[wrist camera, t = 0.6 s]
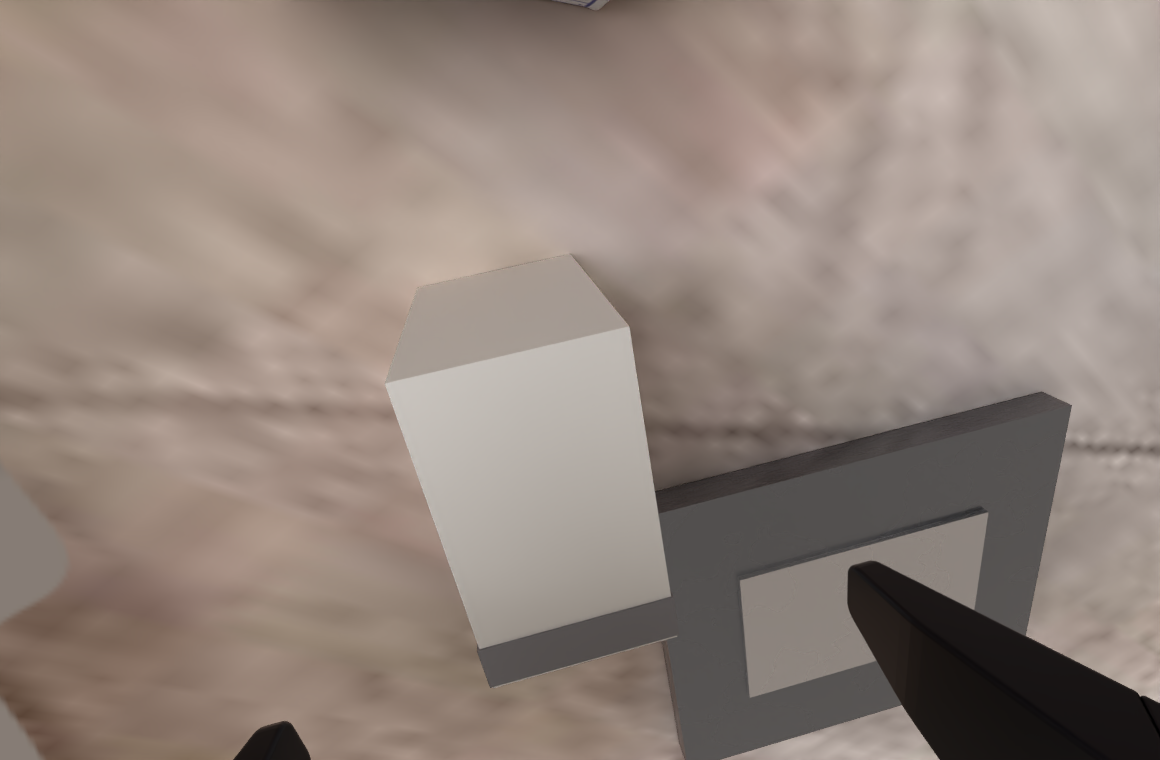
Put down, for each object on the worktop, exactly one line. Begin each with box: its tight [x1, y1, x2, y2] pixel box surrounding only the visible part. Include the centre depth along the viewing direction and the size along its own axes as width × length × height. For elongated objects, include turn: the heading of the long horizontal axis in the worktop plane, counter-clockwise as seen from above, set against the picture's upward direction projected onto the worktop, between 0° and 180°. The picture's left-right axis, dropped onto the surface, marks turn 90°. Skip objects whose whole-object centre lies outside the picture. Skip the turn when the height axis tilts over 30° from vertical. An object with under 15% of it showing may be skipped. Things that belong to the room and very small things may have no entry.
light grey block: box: [385, 254, 679, 688], centre depth 15 cm, size 5×8×7 cm, turn 11°
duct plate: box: [655, 392, 1072, 760], centre depth 24 cm, size 16×14×1 cm
